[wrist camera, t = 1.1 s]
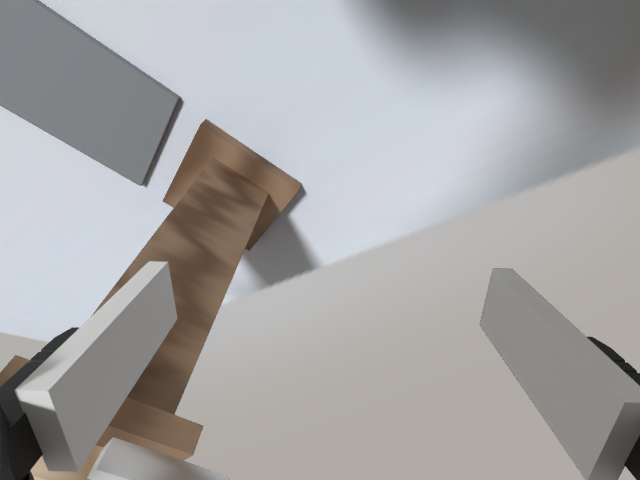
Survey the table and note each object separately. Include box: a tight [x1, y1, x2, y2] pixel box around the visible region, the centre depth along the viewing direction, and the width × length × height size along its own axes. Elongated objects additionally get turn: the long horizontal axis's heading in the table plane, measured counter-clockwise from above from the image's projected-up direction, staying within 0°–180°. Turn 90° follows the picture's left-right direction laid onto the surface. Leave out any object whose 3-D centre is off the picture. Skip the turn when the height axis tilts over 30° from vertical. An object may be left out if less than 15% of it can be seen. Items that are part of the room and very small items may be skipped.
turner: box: [30, 437, 230, 480], centre depth 18 cm, size 23×7×2 cm, turn 54°
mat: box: [0, 0, 180, 186], centre depth 34 cm, size 27×13×1 cm, turn 54°
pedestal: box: [0, 119, 301, 461], centre depth 31 cm, size 12×12×28 cm
